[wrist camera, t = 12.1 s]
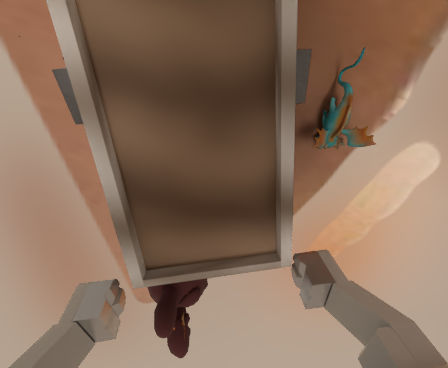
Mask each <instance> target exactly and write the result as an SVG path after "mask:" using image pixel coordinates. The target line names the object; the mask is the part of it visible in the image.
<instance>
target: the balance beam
mask: <svg viewBox="0 0 448 368" xmlns="http://www.w3.org/2000/svg"><path fill="white" fill-rule="evenodd" d="M46 1H47V5H48V8H49V11H50V15H51V18H52V21H53V24H54V28H55V31H56V34H57V38H58V41H59V44H60V48H61V51H62V54H63V58H64V61H65V64H66V68H67V71H68V74H69V78H70V81H71V84H72V88H73V91H74V94H75V97H76V101H77V104H78V107H79V111H80V114H81V117H82V121H83V124H84V127H85V131H86V134H87V137H88V141H89V144H90V147H91V151H92V154H93V157H94V161H95V164H96V167H97V170H98V174H99V177H100V180H101V184H102V187H103V190H104V194H105V197H106V200H107V204H108V207H109V210H110V214H111V217H112V220H113V224H114V227H115V230H116V234H117V237H118V240H119V243H120V247H121V250H122V253H123V257H124V260H125V263H126V267H127V270H128V273H129V277H130V280H131V283H132V287H133V289H135V288H142V287H149V286H156V285H163V284H170V283H177V282H184V281H191V280H199V279H206V278H213V277H220V276H227V275H234V274H241V273H248V272H255V271H262V270H268V269H276V268H283V267H290V266H291V265H292V220H293V179H294V136H295V93H296V50H297V6H298V0H46Z"/></svg>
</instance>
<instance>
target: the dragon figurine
mask: <svg viewBox="0 0 448 368" xmlns="http://www.w3.org/2000/svg"><path fill="white" fill-rule="evenodd" d="M364 50H365V47H364V49H363V51H362V53H361V55H360V57H359V59H358V60H357V61H356V63H355V64H353V65H351V66H348V67H346V68H344V69H343V70H342V71H341V72H340V74H339V77H338V82H339V84H340V85H342V86H343V87H344V90H345V94H344V97H343V100H342V102H341V103H340V105H339V106H338V107H336V105H335V100H336V98H334V97H333V98H331V103H330V109H329V114H328V115H327V117H326V114H327V113H328V112H326V111H325V110H324V112H323V118H322V122H323V128H322V130H319V129H317V128H316V129H317V131H318V133H319V135H318V136H317V138H315V137H314V138H315V141H316V143H315V145H314V146H312V147H314V148H319V149H321V148H323V147H324V149H326V148H330V147H333V146H334V147H335V148H337V149H338V148H339V144H341V145H342V144H343V145H344V142H343V141H342V140H343V139H342V138H340V137H337V136H338V135H339V134H340V133H341V132H342V133H343V134H345V135H346V136H347V138H348V146H351V147H364V146H370V145H375V144H376V143H374V142H373V135H371V136H366V130H367V128H368V126H367V127H365V128H363V129H358V128H357V127H355V128H353V129H348V130H345V129H344V126H345V125H346V124H347V123H348V121H349V118H350V113H351V108H352V100H353V90H352V87H351V85H350V84H349V83H347V82H343V81H341V76H342V74H343V72H344V71H345V70H347V69H349V68H352V67H355V66H356V65H357V64H358V63H359V62H360V60H361V58H362V56H363V54H364Z"/></svg>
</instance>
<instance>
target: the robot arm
mask: <svg viewBox="0 0 448 368" xmlns="http://www.w3.org/2000/svg"><path fill="white" fill-rule="evenodd" d="M293 260H294V262H295V263H294V264H292V269H291V270H292V277H293V280H294V283H295V285H296V286H297V287H298V288H300V289H301V291H300V297H301V299H302V301H303V304H304V306H305V308H306V309H311V308H319V307H324V308H325V309H326V310H327V311H328V312H329V313H330V314H331V315H332V316H333V317H335V318H336V319H337V320H338V321H339V322H340V323H341V324H342V325H343V326H344V327H345V328H346V329H347V330H348V331H350V332H351V333H352V334H353V335H354V336H355V337H356V338H357V339H358V340H359V341H360V342H361V343H362V344H364V345H365V347H364V348H363V350H362V351H361V353H360V354H359V357H358V360H359V361H360V364H361V366H362V367H363V368H448V363H447V362H446V361H445V360H444V358H443V357H442V356H441V355H440V353H439V352H438V351H437V350H436V348H435V347H434V346H433V345H432V343H431V342H430V341H429V340H428V338H427V337H426V336H425V335H424V333H423V332H422V331H421V330H420V328H419V327H418V326H417V325H416V323H415V322H414V321H413V320H411V319H410V318H408V317H406V316H405V315H403V314H402V313H400V312H399V311H397V310H396V309H394V308H393V307H391V306H390V305H388V304H387V303H385V302H384V301H382V300H380V299H379V298H378V297H376V296H375V295H373V294H371V293H370V292H368V291H367V290H365V289H364V288H362V287H361V286H359V285H358V284H356V283H355V282H353V281H348V279H347V278H346V277H345V275H344V273H343V272H342V270H341V269H340V267H339V266H338V264H337V263H336V262H335V260H334V259H333V257H332V256H331V254H330V253H329V251H328V250H319V251H310V252H304V253H298V254H295V255H294V256H293ZM125 299H126V297H125V292H124V290H123V289H122V288H120V287H119V281H118V280H117V279H113V280H106V281H98V282H88V283H82V284H79V285H78V286H77V287H76V289H75V291H74V293H73V295H72V297H71V299H70V301H69V303H68V305H67V307H66V309H65V311H64V313H63V315H62V317H61V319H60V321H59V323H58V324H56V325H53V326H52V327H51V328H50V329H49V330H48V331H47V332H46V333H45V334H44V335H43V336H42V337H41V338H40V339H39V340H38V341H37V342H35V343H34V344H33V345H32V346H31V347H30V348H29V349H28V350H27V351H26V352H25V353H24V354H23V355H22V356H21V357H20V358H18V359H17V360H16V361H15V362H14V363H13V364H12V365H11V366H10V367H9V368H78V366H79V365H80V364H81V362H82V361H83V360H84V358H85V357H86V356H87V354H88V353H89V352H90V350H91V349H92V348H93V346H94V345H95V342H101V341H106V340H112V339H116V336H117V332H118V328H119V325H120V319H119V315H120V314H121V313H122V312H123V310H124V307H125Z"/></svg>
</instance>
